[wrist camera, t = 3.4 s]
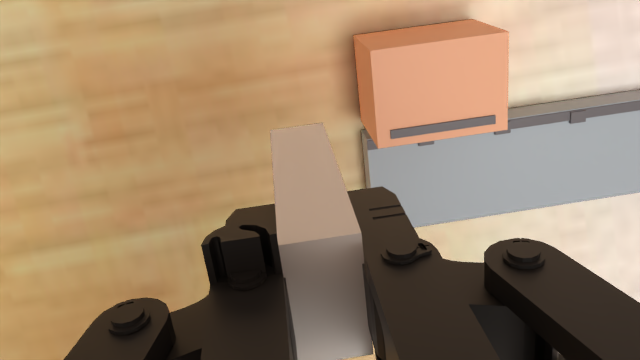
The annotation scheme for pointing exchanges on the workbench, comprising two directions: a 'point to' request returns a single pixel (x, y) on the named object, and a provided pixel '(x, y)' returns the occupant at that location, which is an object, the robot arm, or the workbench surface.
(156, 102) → the workbench surface
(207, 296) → the robot arm
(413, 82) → the block
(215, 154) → the workbench surface
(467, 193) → the long grey bar
